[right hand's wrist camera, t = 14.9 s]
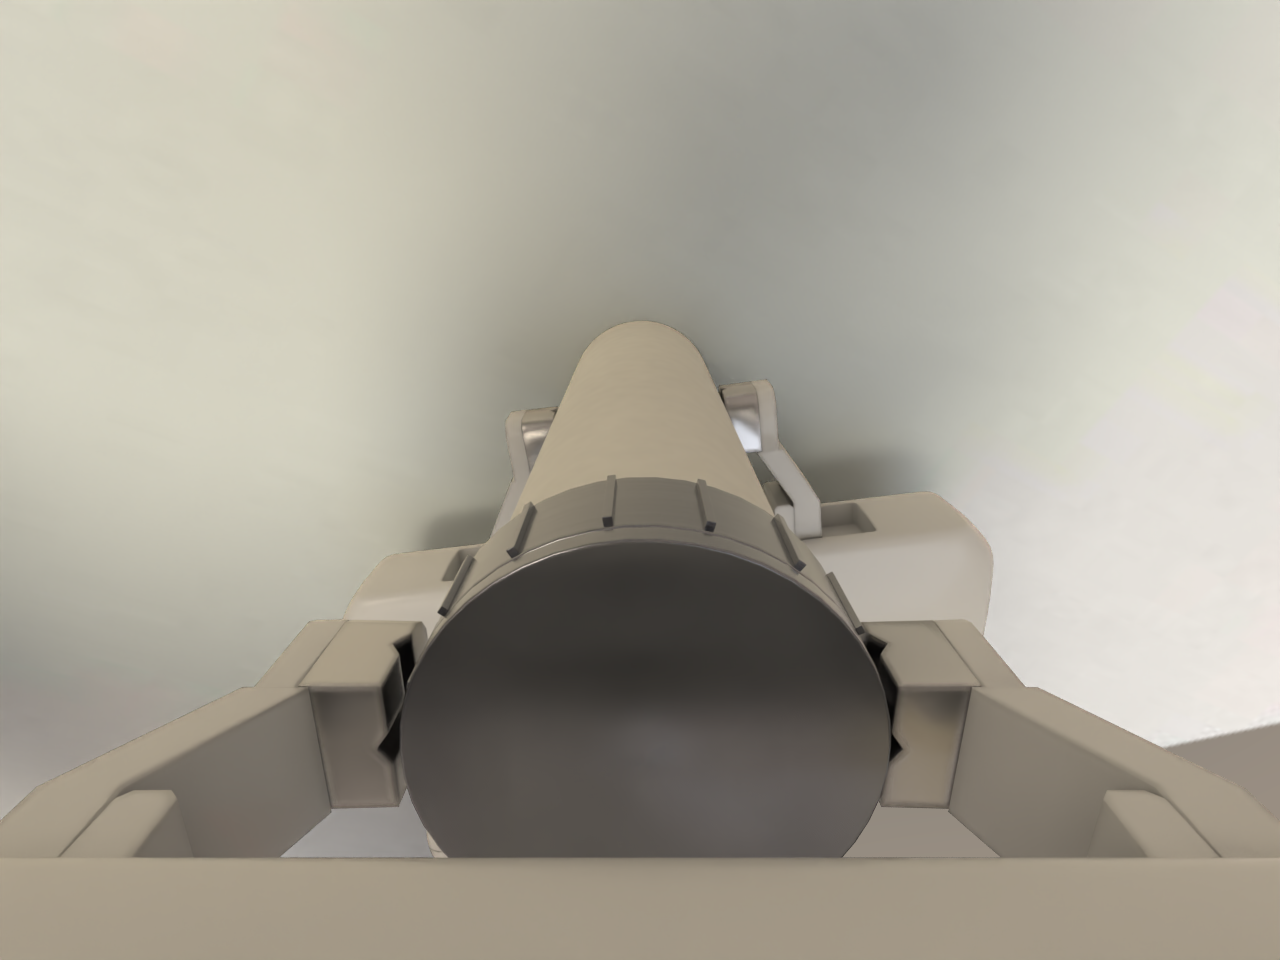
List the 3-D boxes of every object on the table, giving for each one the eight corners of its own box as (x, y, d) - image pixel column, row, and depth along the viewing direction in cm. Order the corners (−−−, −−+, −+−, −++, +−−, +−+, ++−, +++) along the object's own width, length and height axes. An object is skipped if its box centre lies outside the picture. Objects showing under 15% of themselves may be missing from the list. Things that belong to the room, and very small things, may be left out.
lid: (354, 652, 10) (290, 747, 8) (662, 380, 9) (668, 423, 7) (630, 879, 11) (628, 1005, 10) (928, 677, 10) (993, 777, 8)
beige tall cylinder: (545, 384, 26) (350, 724, 9) (646, 290, 25) (664, 458, 7) (636, 479, 28) (631, 947, 10) (737, 394, 26) (936, 749, 9)
